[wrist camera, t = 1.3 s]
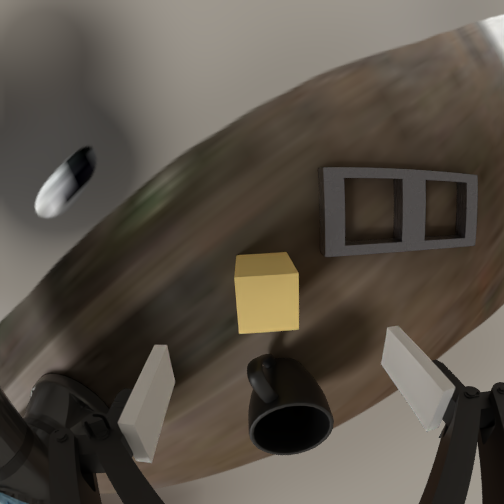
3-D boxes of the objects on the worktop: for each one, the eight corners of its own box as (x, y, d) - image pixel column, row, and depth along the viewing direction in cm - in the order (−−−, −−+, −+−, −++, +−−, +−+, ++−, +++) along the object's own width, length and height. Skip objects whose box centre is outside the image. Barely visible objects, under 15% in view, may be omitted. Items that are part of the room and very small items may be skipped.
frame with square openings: (320, 252, 30) (325, 257, 28) (317, 168, 28) (323, 167, 26) (465, 242, 30) (475, 245, 28) (467, 174, 28) (477, 175, 26)
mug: (288, 310, 31) (304, 359, 22) (323, 384, 34) (343, 437, 25) (219, 339, 32) (212, 394, 23) (264, 408, 35) (269, 463, 25)
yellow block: (240, 301, 31) (239, 333, 24) (236, 255, 30) (234, 277, 23) (287, 297, 31) (298, 329, 24) (286, 251, 30) (298, 273, 23)
